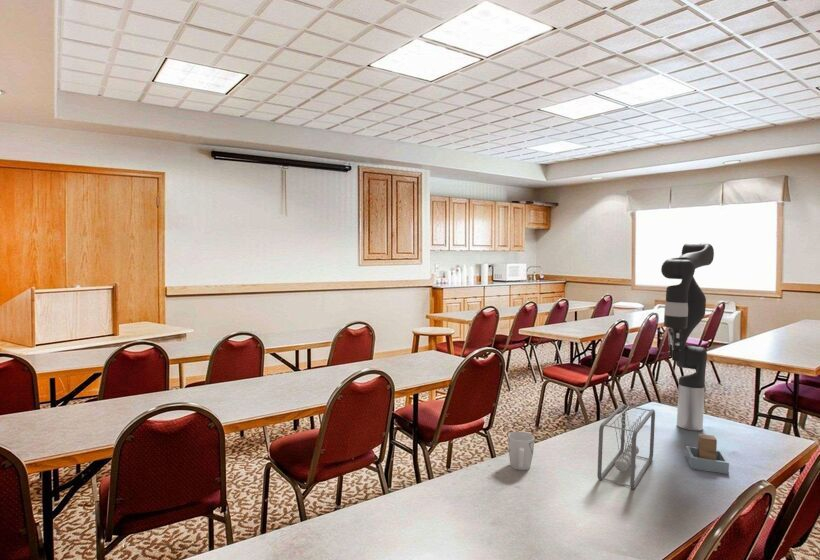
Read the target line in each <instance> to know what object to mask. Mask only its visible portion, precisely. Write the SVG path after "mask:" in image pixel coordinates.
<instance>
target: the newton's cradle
mask: <svg viewBox="0 0 820 560" xmlns="http://www.w3.org/2000/svg"><path fill="white" fill-rule="evenodd" d="M629 408H630V409H631V408H632V409H635V410H641V411H643V412H641V414H640V415H638V418H636V419H635V422H633V421H632V423H633V424H632V425H630V423H631V421H630V420H629V416H628V415H630V416H632V414H631V413H630V414H629V413H628V409H629ZM620 412H621V413H620ZM630 412H633V413H634V411H633V410H630ZM646 412H647V414H646V415H645V413H646ZM618 413H620V414H619V415H618ZM635 413H637V414H639V411H638V412H637V411H635ZM627 414H628V415H627ZM617 415H618V416H617ZM644 415H645V416H644ZM616 416H617V417H616ZM634 416H636V417H637V415H636V414H634ZM643 416H644V417H643ZM614 417H616V418H615V419H614ZM642 417H643V419H642ZM619 418H620V419H619ZM626 418H627V423H626ZM612 419H614V420H613V421H612ZM631 419H632V420H634V418H633V417H631ZM649 419H650V436H649V437H650V438H649V454H648V455H649V456H648V457H645V456H640V455H638V454H639V452H640V450H639V449H640V447H639V446H638V445H637V436H638V433H639V432H640V431H641V429H642V428H643V426H644V425H646V423H647V421H648V420H649ZM619 420H620V422H621V423H619ZM610 421H612V422H611V423H610V424H609V422H610ZM616 421H617V422H616ZM608 424H609V425H608ZM613 424H618V427H617V426H616V425H614V426H613ZM620 424H621V427H620ZM655 425H656V410H655V409H652V408H651V409H646V408H641V407H638V406H637V407H636V406H630V405H626V404H625V403H621V405H619V406H618V407H617V408H616V409H615V410H614V411H613V412H612V413H611V414H610V415H609V416H608V417H606V418H605V420H603V422H601V423H600V425H599V429H598V448H597V449H598V451H597V455H598V456H597V473H596V474H597V479H598V480H599V481H603V480H604V481H608V482H611V483H615V484H618V485H623V486H626V487H629V488H631V490H635V489H636V487H637V486H638V484H639V482H640V481H641V480H642V477H643V476H644V474H645V472H646V471H647V469H648V467H649V466H650V464H651V462H652V461H653V458H654V448H655V444H654V443H655ZM626 426H628V429H627V427H626ZM605 427H608V428H612V429H613V428H614V429H615V430H617V429H618V430H619V433H620V434H619V437H620V446H619V444H617V447H618V449H619V450H618V452H617V454H616V455H615V457H614V458H613V459H612V460H611V462H610V463H609V464H608V465H607V466H606V468H605V469H604V470H603V469H602V466H603V465H602V464H603V441H604V428H605ZM627 432H629V433H627ZM615 433H616V434H615V435H616V437H618V435H617V434H618V432H617V431H615ZM626 434H628V435H626ZM625 437H626V438H627V440H625ZM618 440H619V438H616V441H617V443H619V441H618ZM636 457H637V458H640V459H645V460H646V462H645V464H644V465H643V467H642V468H641V470H640V472H639V473H638V475H637V476H636V478H635V475H636ZM613 467H615V469H616V470H617V471H619V472H626V471H627V470H628V467H630V473H629V474H630V477H629V484H626V483H622V482H619V481H616V480H612V479H608V478H605V477H606V475H608V473H609V471H611V469H612V468H613ZM602 470H603V471H602Z"/></svg>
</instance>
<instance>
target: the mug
mask: <svg viewBox="0 0 820 560" xmlns="http://www.w3.org/2000/svg"><path fill="white" fill-rule="evenodd" d="M507 445H508V446H507V449H508V457H509V464H510V466H511V468H512V469H514V470H518V471H526V470H527V471H528V470H529V469H530V468H531V466H532V461H533V457H534V456H533V455H534V450H535V436H534V435H533V434H531V433H530V432H525V431H511V432H509V433H508V435H507Z"/></svg>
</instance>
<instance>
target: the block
mask: <svg viewBox="0 0 820 560" xmlns="http://www.w3.org/2000/svg"><path fill="white" fill-rule="evenodd" d="M697 437H698V438H697V448H698V455H697V458H704V459H711V460H716V450H717V444H718V440H717V438H716V437H715V434H713V435H712V434H706V433H705V434H704V433H698V436H697Z"/></svg>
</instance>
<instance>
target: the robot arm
mask: <svg viewBox="0 0 820 560" xmlns="http://www.w3.org/2000/svg"><path fill="white" fill-rule="evenodd" d="M714 257H715V251H714V247H713V245H712V244H710V243H708V242H703V243H702V242H695V243H691V242H690V243H684V244H683V246H682V248H681V255H680V256H678V257H673V258H668V259H666V260H665V261H664V262H663V263H662V264H661V269H660V271H661V274H662V276H663V277H665V278H666V279H670V280H681V281H680V283H679V284H673V285H669V286H667V287H666V292H665V305H664V316H663V317H664V318H663V327H666V328H668V333H667V334H668V338H667V340H668V341H667V342H668V343H667V344H668V346H669V350H668V356H669V357H671V360H672V361H674V362H675V364H676V366H677V367H678V368H681V369H690V370H696V371H695V372H693V373H690V374H687V375H682V376H680V377H679V378H678V389H677V391H678V394H677V408H676V409H677V410H676V411H677V414H676V415H677V416H676V426H677V427H679V428H680V429H683V430H688V431H696V432H697V431H702V430H703V428H704V410H705V408H704V407H705V389H706V388H705V386H706V385H705V384H706V369H707V368H706V367H707V361H708V352H707V349H706V348H705V347H702V346H695V345H687V342H688V339H689V337H690V335H691V333H693V331H694V330H695V328H696V327H698V325H699V323H701V322H702V320H703V318H704V317H705V315H706V305H707V298H706V295H705V293H704V291H703V290H702V289H701V287H700V286H699V284H698V282H697V281H696V279H695V277H694V274H695V272H696V269H698V268H700V267H704V266H706V267H707V266H710V265H711V264H712V262H713V261H714Z"/></svg>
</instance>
